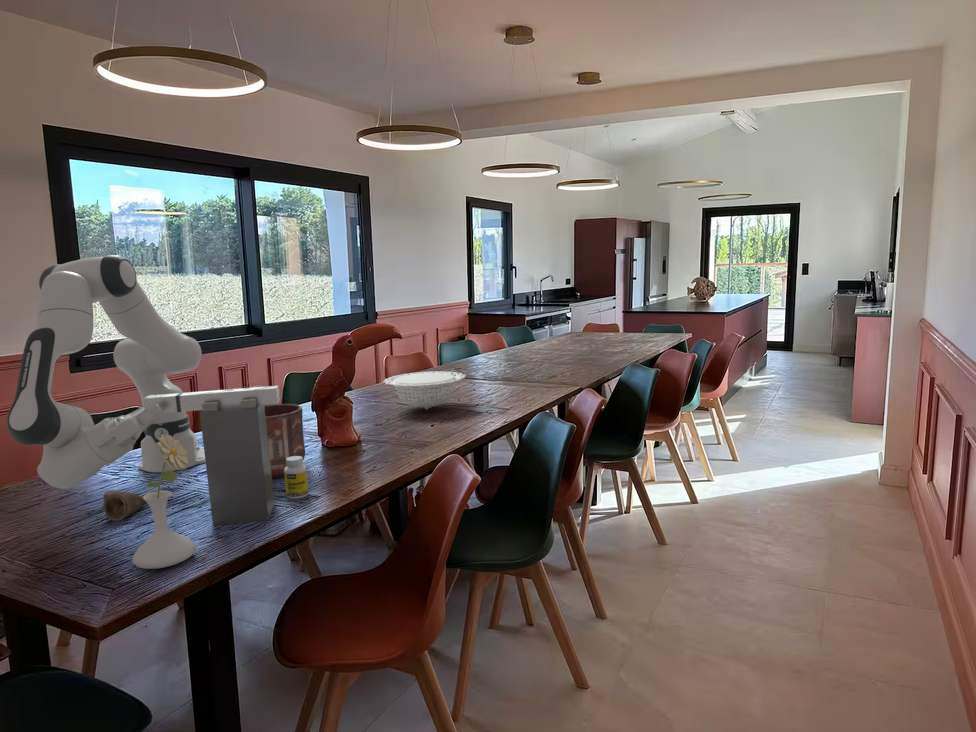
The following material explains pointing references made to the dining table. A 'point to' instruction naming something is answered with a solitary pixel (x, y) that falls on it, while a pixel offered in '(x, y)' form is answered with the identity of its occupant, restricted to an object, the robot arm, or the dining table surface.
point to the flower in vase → (164, 516)
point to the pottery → (284, 435)
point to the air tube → (212, 398)
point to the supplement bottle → (295, 478)
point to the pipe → (121, 504)
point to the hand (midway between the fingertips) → (166, 402)
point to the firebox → (237, 462)
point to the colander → (425, 386)
